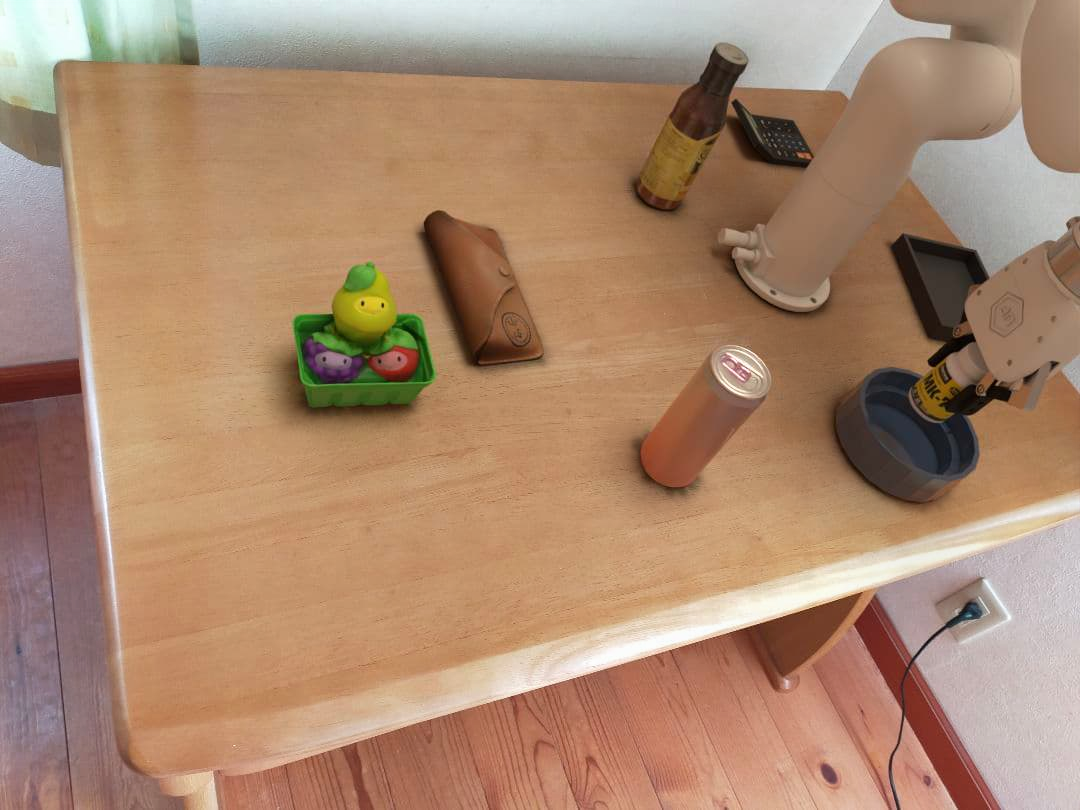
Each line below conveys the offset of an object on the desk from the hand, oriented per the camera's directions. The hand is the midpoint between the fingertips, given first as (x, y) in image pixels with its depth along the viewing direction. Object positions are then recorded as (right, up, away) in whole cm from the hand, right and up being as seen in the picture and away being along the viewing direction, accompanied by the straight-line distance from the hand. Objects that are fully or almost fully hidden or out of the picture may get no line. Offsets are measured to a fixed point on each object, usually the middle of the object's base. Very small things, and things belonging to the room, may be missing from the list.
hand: (948, 387), depth 89 cm
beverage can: (-29, -8, -4) cm, 30 cm away
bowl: (-3, -6, +7) cm, 10 cm away
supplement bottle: (-1, -2, +3) cm, 3 cm away
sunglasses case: (-47, +10, +1) cm, 48 cm away
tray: (+13, +12, +28) cm, 33 cm away
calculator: (-9, +35, +36) cm, 51 cm away
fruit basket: (-58, +1, -10) cm, 59 cm away
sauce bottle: (-27, +24, +21) cm, 42 cm away
